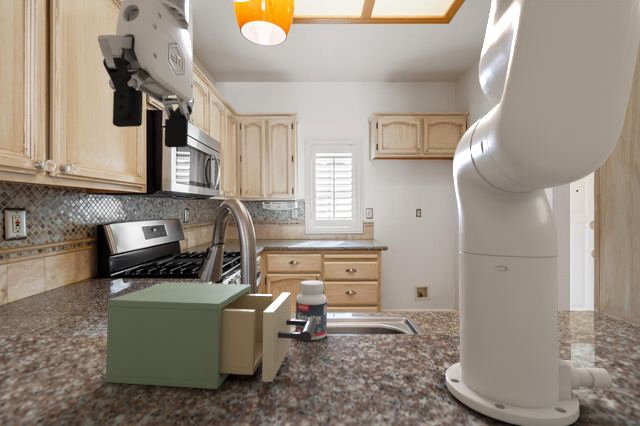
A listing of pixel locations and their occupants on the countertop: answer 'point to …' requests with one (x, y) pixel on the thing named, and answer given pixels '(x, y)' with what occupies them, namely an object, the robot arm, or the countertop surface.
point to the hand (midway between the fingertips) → (154, 137)
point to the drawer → (259, 334)
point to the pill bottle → (312, 307)
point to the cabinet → (169, 334)
